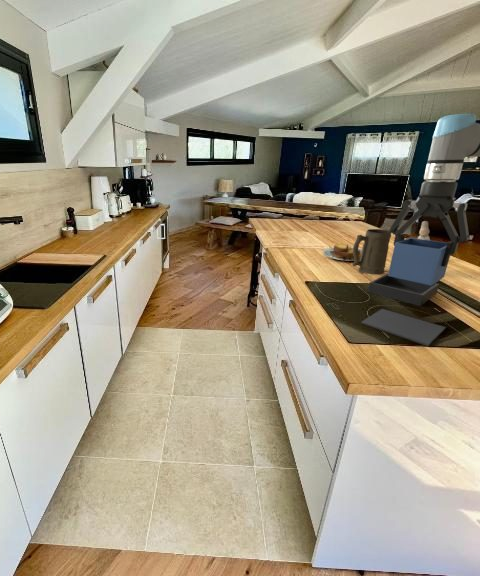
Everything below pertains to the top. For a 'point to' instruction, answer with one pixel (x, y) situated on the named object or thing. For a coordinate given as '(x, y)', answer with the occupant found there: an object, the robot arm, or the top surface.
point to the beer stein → (372, 251)
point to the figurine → (424, 231)
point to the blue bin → (418, 261)
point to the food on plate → (342, 252)
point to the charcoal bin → (403, 289)
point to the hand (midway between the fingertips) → (419, 261)
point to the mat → (405, 326)
